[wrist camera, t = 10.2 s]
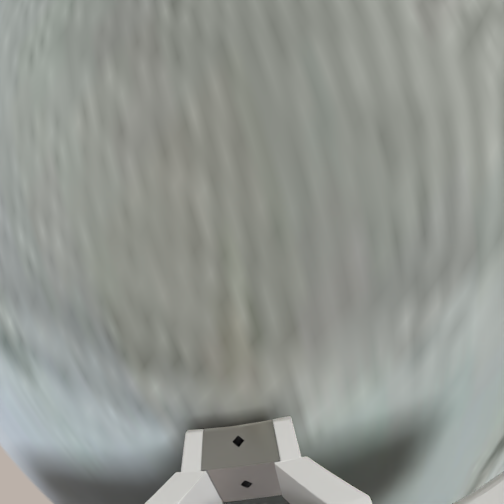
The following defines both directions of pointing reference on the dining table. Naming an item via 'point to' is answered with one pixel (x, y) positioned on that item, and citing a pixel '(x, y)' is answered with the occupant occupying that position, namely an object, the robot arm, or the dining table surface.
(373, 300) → the dining table surface
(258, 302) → the dining table surface
